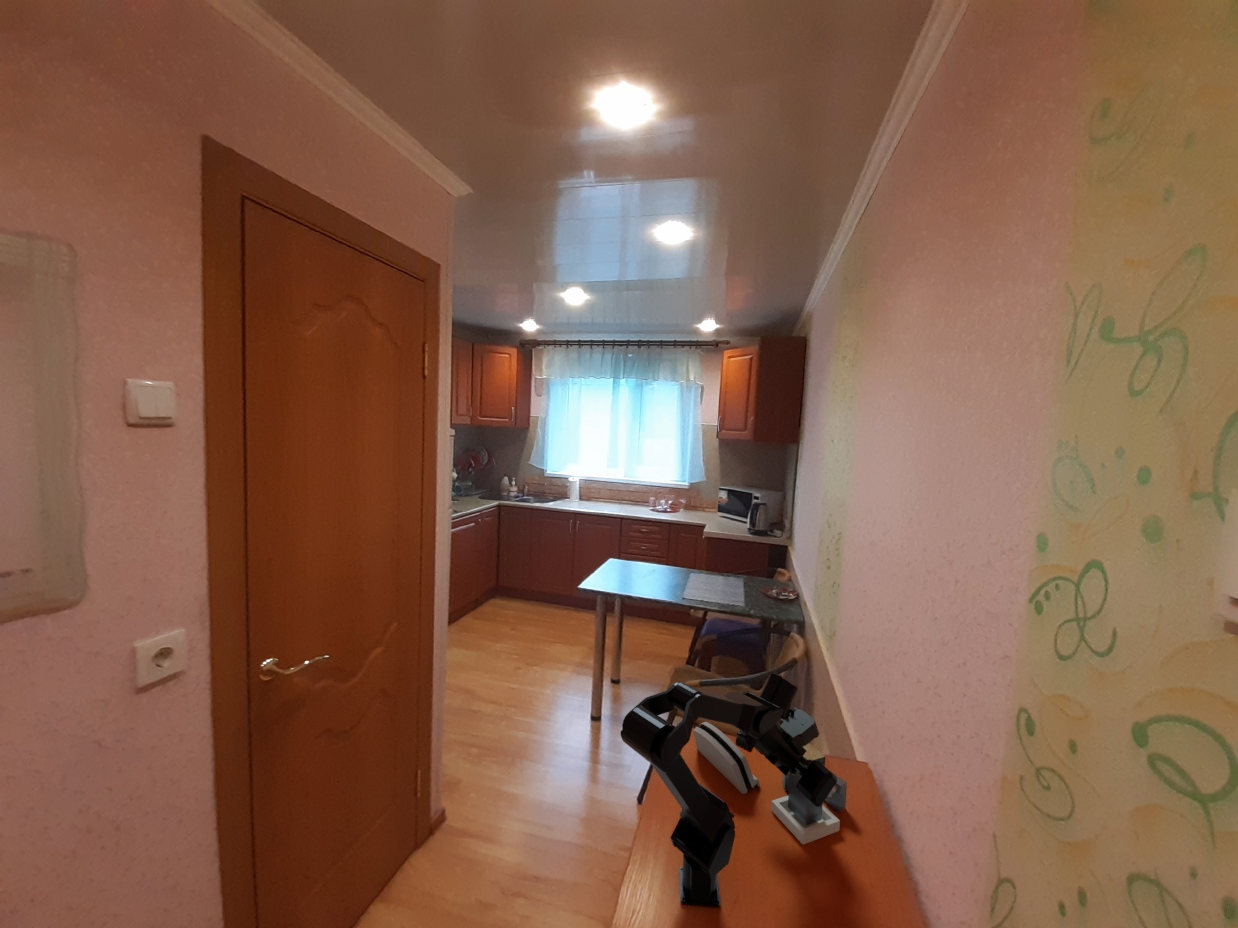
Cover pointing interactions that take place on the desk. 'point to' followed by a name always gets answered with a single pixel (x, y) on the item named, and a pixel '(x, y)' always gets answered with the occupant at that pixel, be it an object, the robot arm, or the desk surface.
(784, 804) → the white square tray
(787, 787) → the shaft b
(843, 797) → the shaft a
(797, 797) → the tan and grey block
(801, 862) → the desk surface
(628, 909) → the desk surface
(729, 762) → the white electronic device
